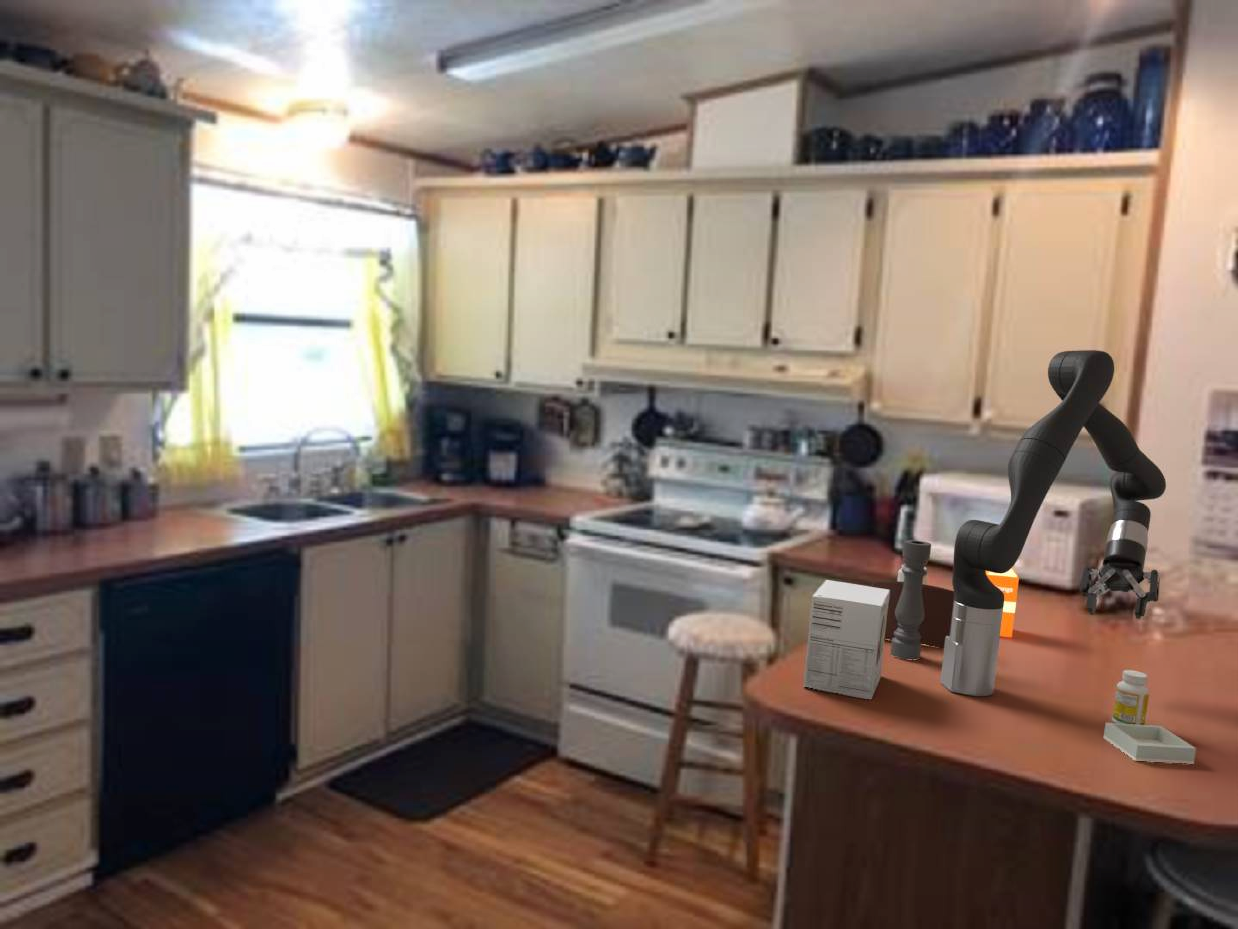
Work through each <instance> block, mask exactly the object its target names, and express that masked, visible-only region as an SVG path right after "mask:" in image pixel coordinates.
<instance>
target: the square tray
mask: <svg viewBox="0 0 1238 929" xmlns="http://www.w3.org/2000/svg"><path fill="white" fill-rule="evenodd" d="M1103 739H1104V740H1106V742H1108V743H1109V742H1110V743H1109V744H1111V745H1112V744H1113V745H1112V746H1113V747H1115V748H1116V749H1118V748H1119V749H1120V750H1121V751H1120V750H1119V749H1118V750H1119V751H1120V752H1122V753H1123V752H1124V753H1125V755H1126V754H1127V755H1128V756H1129V757H1128V756H1127V755H1126V756H1127V757H1128V758H1130V757H1131V758H1132V759H1131V758H1130V759H1131V760H1132V761H1134V760H1135V761H1147V762H1146V763H1154V762H1167V763H1166V764H1172V763H1183V764H1182V765H1185V764H1184V763H1187V764H1186V765H1190V764H1195V759H1196V753H1197V752H1196V750H1197V748H1196V747H1194V746H1193V745H1192V744H1189V743H1188V742H1187V741H1185V740H1184V739H1182V738H1181V737H1179V736H1178V735H1176V734H1174V733H1173V732H1171V731H1169V730H1168V729H1166V728H1165V727H1164V726H1162V725H1155V724H1154V725H1152V724H1149V725H1148V724H1145V725H1137V724H1119V723H1115V722H1105V725H1104V731H1103ZM1124 753H1123V754H1124ZM1135 761H1134V762H1135ZM1149 761H1150V762H1149ZM1168 762H1169V763H1168ZM1188 763H1189V764H1188Z"/></svg>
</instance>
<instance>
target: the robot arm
mask: <svg viewBox="0 0 1238 929" xmlns="http://www.w3.org/2000/svg"><path fill="white" fill-rule="evenodd" d="M1114 375H1115V362H1114V359H1113V358H1112V356H1111V355H1110V354H1109V353H1108V352H1105V351H1103V350H1096V349H1084V350H1083V349H1081V350H1066V351H1061V352H1057V353H1056V354H1055V355H1053V357H1052V358H1051V360H1050V361H1049V364H1048V368H1047V377H1048V378H1047V379H1048V381H1049V382H1048V383H1049V384H1050V386H1051V388H1052V389H1053V391H1054V392H1055V393H1056V395H1057V396H1058V397H1059V399H1060V400H1061V402H1060V403H1059V404H1058V405H1057V406H1056V407H1055V408H1054V409H1052V410H1051V411H1050V412H1049V413H1047V414H1046V415H1045V416H1043V417H1042V418H1041V419H1039V420H1038V421H1036V422H1035V423H1034V424H1033V425H1032V426H1031V427H1029V428H1028V430H1026V431H1025V432H1024V433H1023V435H1022V436H1021V438H1020V440H1019V441H1018V442H1017V444H1016V447H1015V449H1014V451H1013V452H1012V454H1011V456H1010V458H1009V459H1008V460H1009V461H1008V464H1007V476H1008V483H1009V490H1010V502H1009V507H1008V509H1007V511H1006V513H1005V515H1004V518H1003V520H1001V522H1000V523H999V524H997V523H995V522H994V523H993V522H990V521H989V522H988V521H984V520H978V519H969V520H967V521H965V522H964V523H963V524H961V526H960V528H959V529H958V531H957V534H956V536H955V542H954V546H953V547H954V548H953V563H952V564H953V566H952V580H951V581H952V590H953V591H954V602H953V611H952V619H951V628H950V636H946V637H945V645H944V649H943V656H942V661H941V663H942V664H941V673H940V681H939V682H940V684H942V685H943V686H944V687H945V688H946V689H948V690H949V691H950V692H951V693H958V694H963V695H968V696H974V697H986V696H991V695H993V694H994V690H995V684H996V683H995V681H996V680H995V679H996V673H997V662H998V656H999V655H998V654H999V646H1000V637H1001V636H1000V631H1001V622H1002V615H1003V607H1004V593H1003V592H1002V591H1001V590H1000V589H999V588H998V587H996V586H995V585H994V584H993V583H992V582H991V581H990V580H989V578H988V577H987V575H986V571H989V572H993V573H1000V574H1002V573H1006V572H1008V571H1009V570H1010V569H1011V568H1012V567H1013V568H1014V566H1015V564H1017V561H1018V559H1019V558H1020V556H1021V553H1022V551H1023V548H1024V547H1025V545H1026V542H1027V539H1028V537H1029V535H1030V532H1031V529H1032V527H1033V524H1034V523H1035V519H1036V518H1037V515H1038V514H1039V511H1040V508H1041V506H1042V504H1044V503H1043V502H1044V500H1045V499H1046V497H1047V494H1048V493H1049V490H1050V489H1051V487H1052V485H1053V483H1054V482H1055V480H1056V479H1057V476H1058V475H1059V474H1060V471H1061V469H1062V468H1063V465H1064V464H1065V462H1066V461H1067V460H1066V459H1067V457H1068V456H1069V453H1070V451H1071V449H1072V448H1073V445H1074V444H1075V442H1076V441H1077V438H1078V437H1079V435H1080V433H1081V432H1082V430H1083V428H1084V429H1085V430H1086V432H1087V433H1088V435H1089V436H1090V437H1091V439H1092V440H1093V442H1094V444H1095V446H1096V447H1097V449H1098V451H1099V453H1100V455H1101V457H1102V459H1103V461H1104V462H1105V464H1106V466H1107V467H1108V468H1109V469H1110V470H1111V471H1113V472H1114V474H1112V476H1111V477H1110V479H1109V487H1110V492H1111V498H1112V499H1111V500H1112V505H1113V506H1112V508H1113V509H1112V510H1113V514H1112V518H1111V524H1110V529H1109V531H1108V534H1107V539H1106V544H1105V549H1104V554H1103V559H1102V565H1101V567H1100V568H1099V569H1096V568H1095V569H1094V568H1091V566H1090V565H1086V566H1084V569H1083V572H1082V575H1081V576H1082V577H1081V578H1080V583H1079V588H1078V589H1079V592H1080V593H1081V596H1083V597H1087V599H1086V604H1085V608H1086V610H1087V613H1089V615H1091V616H1094V615H1095V613H1096V609H1097V608H1096V607H1097V603H1098V598H1099V597H1100V596H1101V595H1105V594H1107V593H1108V592H1109V591H1111V592H1123V593H1129V592H1130V591H1132V592H1133V594H1134V595H1135V596H1136V597H1137V598H1136V603H1135V610H1134V615H1135V619H1137V620H1138V619H1139V620H1141V619H1142V617H1144V616H1145V615H1146V609H1147V605H1148V603H1149V602H1158V601H1159V596H1160V583H1161V582H1160V581H1161V580H1160V579H1161V578H1160V573H1159V572H1158V570H1157V569H1152V570H1151V571H1147V572H1146V571H1144V567H1145V560H1146V556H1147V555H1146V554H1147V551H1148V547H1149V546H1148V542H1149V536H1148V535H1149V529H1150V523H1151V522H1150V521H1151V515H1152V514H1151V510H1150V508H1149V507H1148V506H1147V505H1146V504H1145V503H1144V502H1141V501H1149V500H1156V499H1159V498H1160V497H1162V496H1163V495H1164V493H1165V492H1166V489H1167V488H1166V487H1167V482H1166V478H1165V475H1164V474H1163V472H1162V471H1161V469H1160V468H1159V466H1157V465H1156V463H1154V462H1153V461H1152V460H1151V459H1150V458H1149V457H1148V456H1147V455H1146V454H1145V453H1144V452H1143V451H1142V450H1141V449H1140V448H1139V446H1138V443H1137V442H1136V440H1135V437H1134V436H1133V433H1132V432H1131V431H1130V430H1129V428H1128V427H1127V425H1126V424H1125V423H1124V422H1123V421H1122V420H1121V419H1120V418H1118V417H1117V416H1116V415H1115V414H1113V413H1112V412H1111V411H1110V410H1108V409H1107V408H1106V407H1104V406H1103V405H1102V404H1101V401H1102V399H1103V398H1104V397H1105V394H1106V393H1107V391H1109V389H1110V386H1111V384H1112V382H1113V379H1114ZM1096 577H1099V578H1098V580H1097V581H1095V579H1096ZM1145 579H1146V581H1147V582H1148V583H1149V591H1148V592H1145V591H1144V589H1143V588H1142V587H1141V585H1140V584H1141V583H1142V582H1143V581H1144V580H1145ZM1092 581H1095V584H1093V586H1091V584H1092Z"/></svg>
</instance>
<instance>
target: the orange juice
mask: <svg viewBox="0 0 1238 929" xmlns="http://www.w3.org/2000/svg"><path fill="white" fill-rule="evenodd" d="M986 575H987V577H988V578H989V580H990V581H991V582H992V583H993V584H994V585H995V586H996V587H998V588H999V589H1000V590H1001V591H1002V592H1003V593H1004V607H1003V615H1002V622H1001V631H1000V637H1005V638H1013V630H1014V622H1015V613H1016V606H1017V598H1018V589H1019V581H1020V580H1019V579H1020V577H1018V575H1017V573H1016V571H1015V569H1014V566H1013V567H1012V568H1011V569H1010V570H1009V571H1008V572H1006V573H1002V574H1000V573H993V572H989V571H986Z"/></svg>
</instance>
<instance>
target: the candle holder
mask: <svg viewBox="0 0 1238 929" xmlns="http://www.w3.org/2000/svg"><path fill="white" fill-rule="evenodd" d="M931 550H932V543H930V542H926V541H922V540H918V539H917V540H915V539H906V540H903V545H902V554H901V556H902V557H903V558H902V560H903V561H904V564H905V565H906V566H905V567H904V568H902V567H901V568H902V572H903V573H904V585H903V590H902V593H901V596H900V599H899V601H898V604H897V607H896V609H895V616H896V619H897V621H898V622H899V623H898V625H899V627H898V628H897V629H896V631H894V636H895V637H894V638H892V641H891V645H890V651H889V652H890V653H891V654H890V656H891V655H893V656H897V657H899V658H902V659H912V660H913V659H918V658H920V659H921V650H922V646H921V642H920V641H919V640H920V639H921V635H920V634H919V632H918V630H917V629H918V628H919V624H921V623H922V621H923V620H924V616H925V614H924V607H923V599H922V583H923V578H924V576H925V575H927V573H928V572H926V571H927V570H925V569H924V567H926V565H927V564H928V563H929V560H930V559H931ZM893 656H892V657H893ZM902 659H901V660H902Z"/></svg>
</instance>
